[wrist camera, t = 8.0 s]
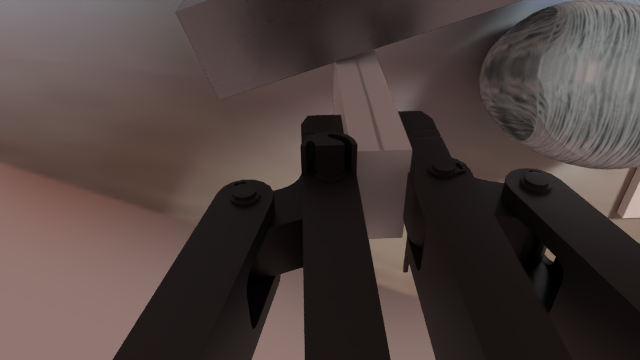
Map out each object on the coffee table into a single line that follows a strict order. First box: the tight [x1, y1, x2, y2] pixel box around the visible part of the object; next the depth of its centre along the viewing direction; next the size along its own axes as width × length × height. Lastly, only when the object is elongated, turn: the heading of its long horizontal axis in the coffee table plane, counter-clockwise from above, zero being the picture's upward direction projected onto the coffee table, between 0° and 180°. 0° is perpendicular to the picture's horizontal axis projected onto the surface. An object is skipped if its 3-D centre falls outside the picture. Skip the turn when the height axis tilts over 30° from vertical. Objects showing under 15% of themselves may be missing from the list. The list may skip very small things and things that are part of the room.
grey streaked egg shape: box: [479, 0, 640, 169], centre depth 28 cm, size 14×10×10 cm
